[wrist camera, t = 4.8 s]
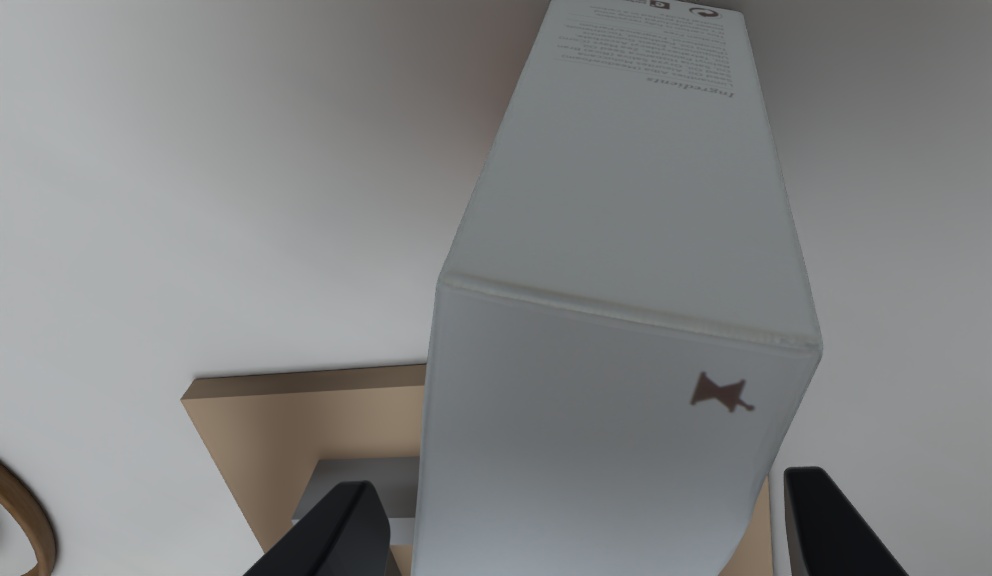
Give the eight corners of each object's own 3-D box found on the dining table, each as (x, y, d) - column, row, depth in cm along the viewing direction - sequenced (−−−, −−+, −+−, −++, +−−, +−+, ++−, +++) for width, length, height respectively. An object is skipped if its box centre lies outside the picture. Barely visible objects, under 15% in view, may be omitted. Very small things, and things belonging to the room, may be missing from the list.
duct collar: (758, 342, 23) (772, 431, 20) (774, 643, 30) (786, 739, 27) (194, 379, 27) (140, 455, 24) (328, 632, 35) (298, 714, 32)
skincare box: (554, -27, 18) (429, 263, 8) (746, 7, 18) (849, 346, 8) (516, 210, 22) (398, 607, 12) (676, 240, 21) (690, 672, 12)
